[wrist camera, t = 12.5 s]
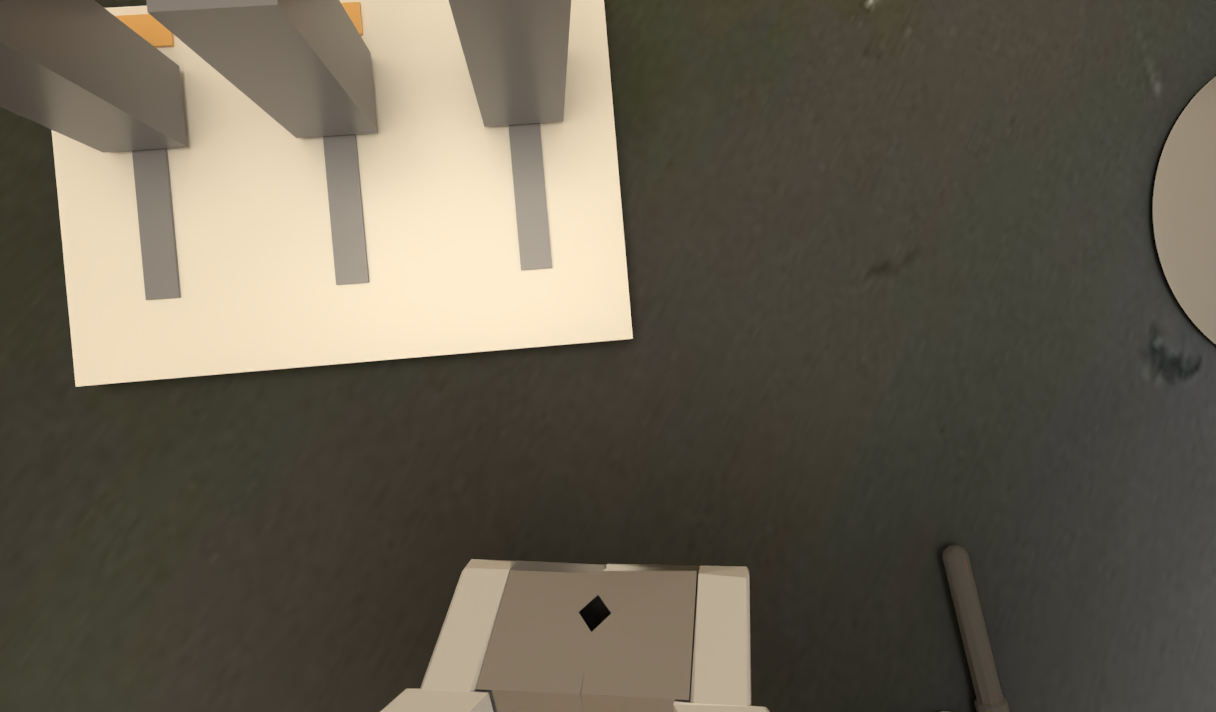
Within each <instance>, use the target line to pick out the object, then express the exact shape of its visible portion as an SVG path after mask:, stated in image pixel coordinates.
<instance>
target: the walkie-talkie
mask: <svg viewBox="0 0 1216 712" xmlns="http://www.w3.org/2000/svg"><path fill="white" fill-rule="evenodd" d="M942 559H943V563H944V567H945V571H946V575H947V579H948V583H949V588H950V592H951V596H952V600H953V604H954V608H955V612H956V616H957V620H958V624H959V629H960V633H961V637H962V641H963V645H964V649H965V653H966V657H967V661H968V665H969V670H970V674H971V678H972V682H973V686H974V690H975V694H976V699H975V700H974V704H975V708H976V712H1010V709H1009V705H1008V701H1007V698H1006V697H1005V696H1003V695H1002V692H1001V687H1000V683H999V679H998V675H997V671H996V667H995V663H994V659H993V655H992V650H991V646H990V642H989V638H988V634H987V630H986V626H985V622H984V618H983V614H982V609H981V605H980V601H979V597H978V593H977V589H976V585H975V581H974V577H973V572H972V568H971V564H970V560H969V556H968V553H967V551H966V550H965V549H964V548H963V547H961V546H959V545H950V546H948V547H946V548H945V549H944V551H943V554H942ZM940 712H950V711H940Z"/></svg>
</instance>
